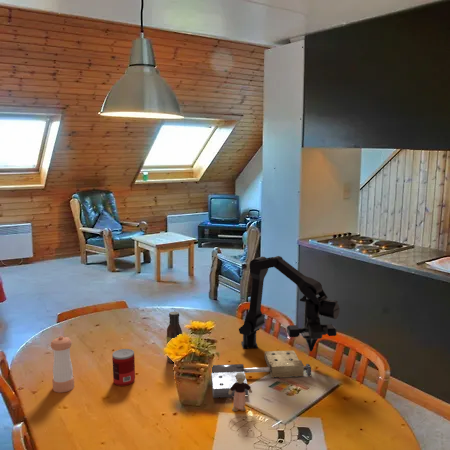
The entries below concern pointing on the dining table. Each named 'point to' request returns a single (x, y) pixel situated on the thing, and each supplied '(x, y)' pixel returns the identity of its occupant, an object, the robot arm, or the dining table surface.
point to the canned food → (123, 367)
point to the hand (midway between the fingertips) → (310, 351)
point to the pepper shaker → (62, 365)
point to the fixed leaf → (234, 377)
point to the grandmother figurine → (239, 392)
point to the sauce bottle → (173, 328)
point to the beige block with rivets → (284, 363)
